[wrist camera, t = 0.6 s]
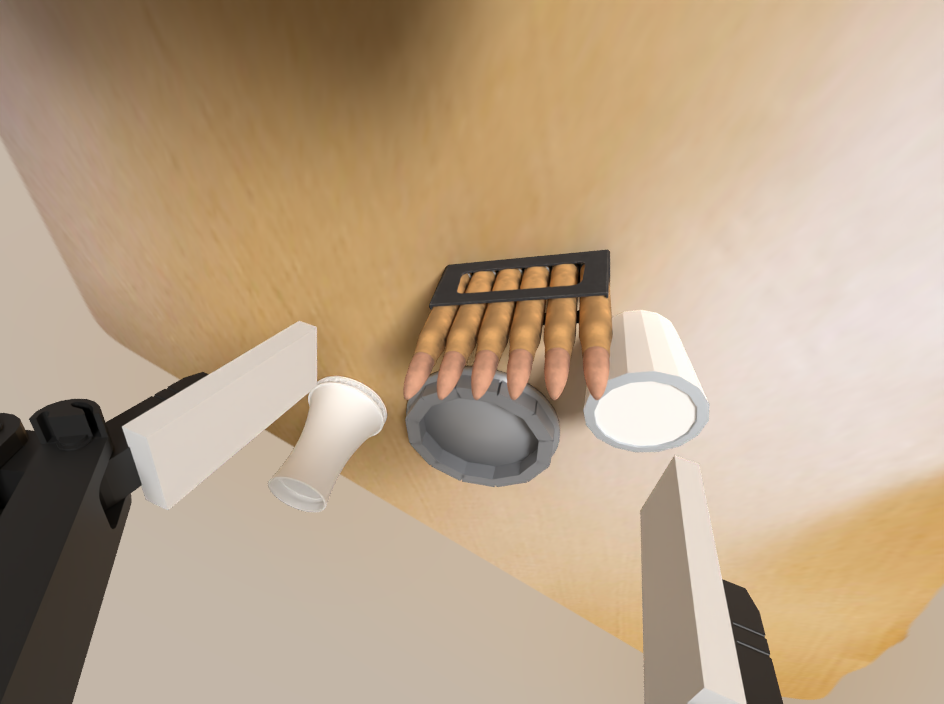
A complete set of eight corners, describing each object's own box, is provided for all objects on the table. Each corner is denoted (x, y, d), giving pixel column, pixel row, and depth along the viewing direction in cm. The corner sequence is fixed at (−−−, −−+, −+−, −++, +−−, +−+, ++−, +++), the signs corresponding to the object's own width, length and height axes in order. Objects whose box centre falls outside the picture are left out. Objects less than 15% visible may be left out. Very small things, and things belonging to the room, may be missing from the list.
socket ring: (399, 356, 36) (390, 373, 34) (569, 377, 33) (568, 396, 32) (416, 458, 44) (410, 475, 43) (551, 481, 42) (550, 499, 40)
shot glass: (697, 367, 30) (720, 445, 25) (600, 387, 33) (603, 460, 28) (675, 288, 27) (697, 359, 21) (570, 318, 30) (566, 387, 24)
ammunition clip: (452, 288, 30) (394, 412, 21) (445, 264, 29) (382, 384, 20) (610, 276, 27) (621, 414, 18) (609, 249, 26) (621, 382, 17)
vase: (298, 391, 41) (234, 478, 34) (346, 364, 38) (286, 456, 30) (353, 438, 45) (305, 527, 37) (402, 417, 41) (361, 512, 33)
